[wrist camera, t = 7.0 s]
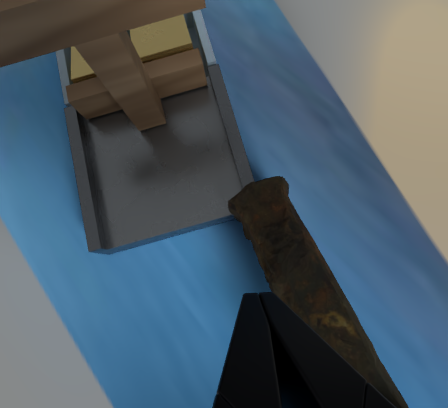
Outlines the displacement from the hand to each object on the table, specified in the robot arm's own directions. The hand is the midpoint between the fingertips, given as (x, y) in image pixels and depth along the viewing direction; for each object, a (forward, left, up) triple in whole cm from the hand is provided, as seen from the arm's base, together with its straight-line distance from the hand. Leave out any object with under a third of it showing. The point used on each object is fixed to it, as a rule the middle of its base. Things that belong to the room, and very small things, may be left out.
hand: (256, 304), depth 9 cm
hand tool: (-4, -4, -10) cm, 11 cm away
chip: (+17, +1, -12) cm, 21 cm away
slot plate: (+10, +4, -13) cm, 17 cm away
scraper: (+14, +4, -11) cm, 18 cm away
